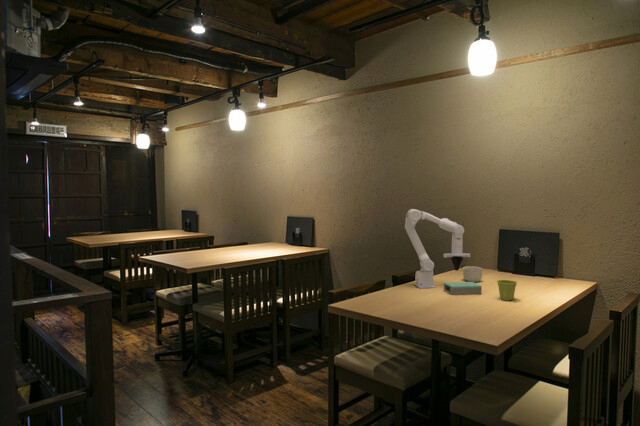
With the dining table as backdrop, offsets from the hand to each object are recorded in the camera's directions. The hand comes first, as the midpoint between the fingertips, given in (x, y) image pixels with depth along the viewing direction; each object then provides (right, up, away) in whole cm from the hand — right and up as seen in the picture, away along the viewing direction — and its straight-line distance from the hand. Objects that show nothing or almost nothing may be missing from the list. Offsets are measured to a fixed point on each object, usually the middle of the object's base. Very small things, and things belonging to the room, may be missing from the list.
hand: (456, 270), depth 236 cm
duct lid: (-1, -7, -12) cm, 14 cm away
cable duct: (-1, -10, -12) cm, 16 cm away
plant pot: (+17, -11, -25) cm, 32 cm away
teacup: (+14, -9, +17) cm, 24 cm away
